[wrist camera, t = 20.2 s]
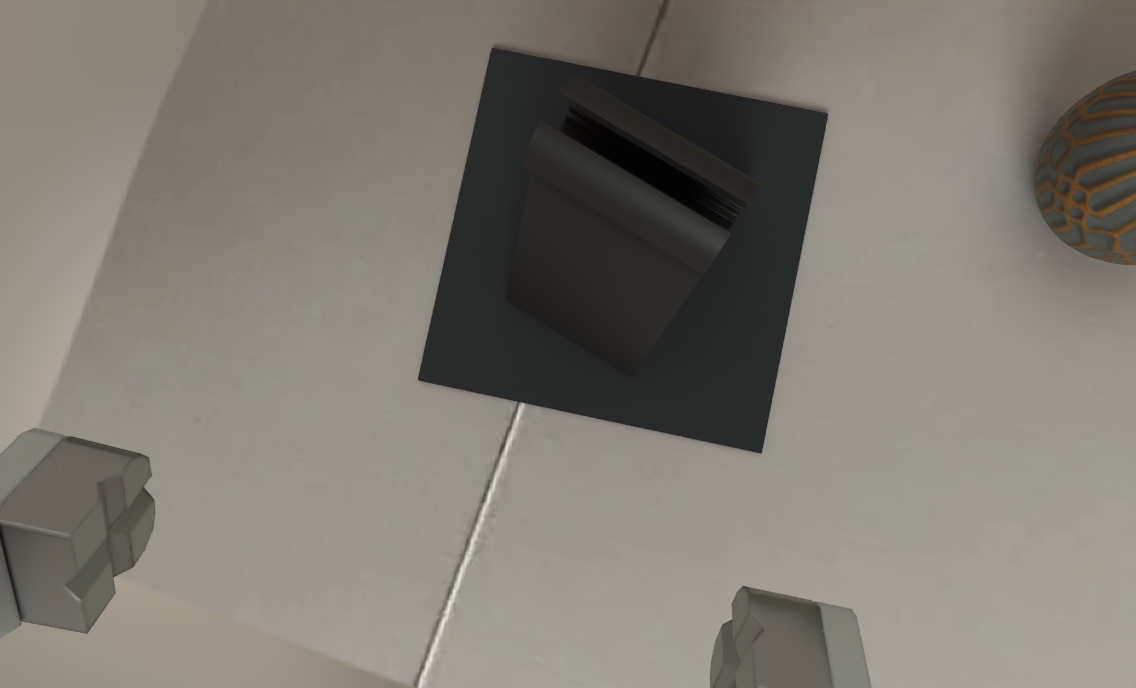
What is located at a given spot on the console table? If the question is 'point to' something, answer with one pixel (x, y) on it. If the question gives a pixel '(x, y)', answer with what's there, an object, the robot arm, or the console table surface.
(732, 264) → the mat
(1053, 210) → the vase
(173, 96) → the console table surface
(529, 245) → the phone stand
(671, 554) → the console table surface
